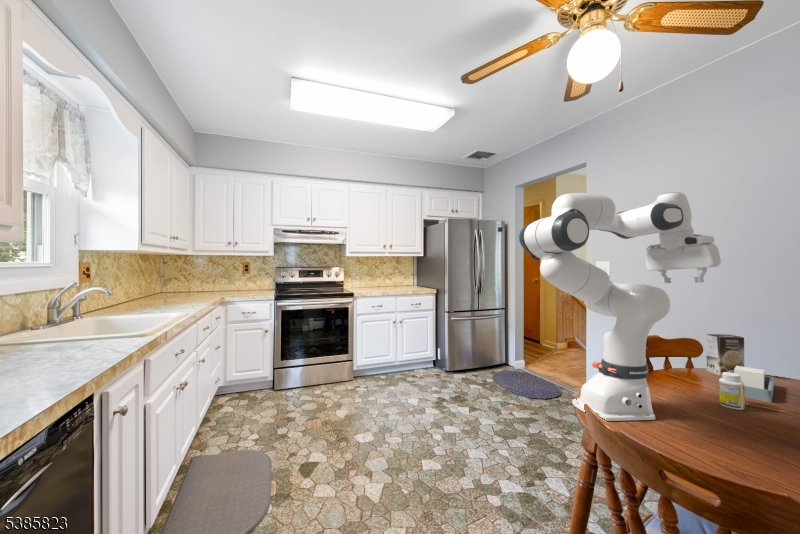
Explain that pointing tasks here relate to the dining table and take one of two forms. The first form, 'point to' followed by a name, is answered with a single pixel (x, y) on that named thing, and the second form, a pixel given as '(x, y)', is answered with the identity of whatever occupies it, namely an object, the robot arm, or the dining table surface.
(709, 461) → the dining table surface
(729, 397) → the supplement bottle
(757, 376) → the off-white plain cube block
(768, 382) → the tray
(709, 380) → the dining table surface
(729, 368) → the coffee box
